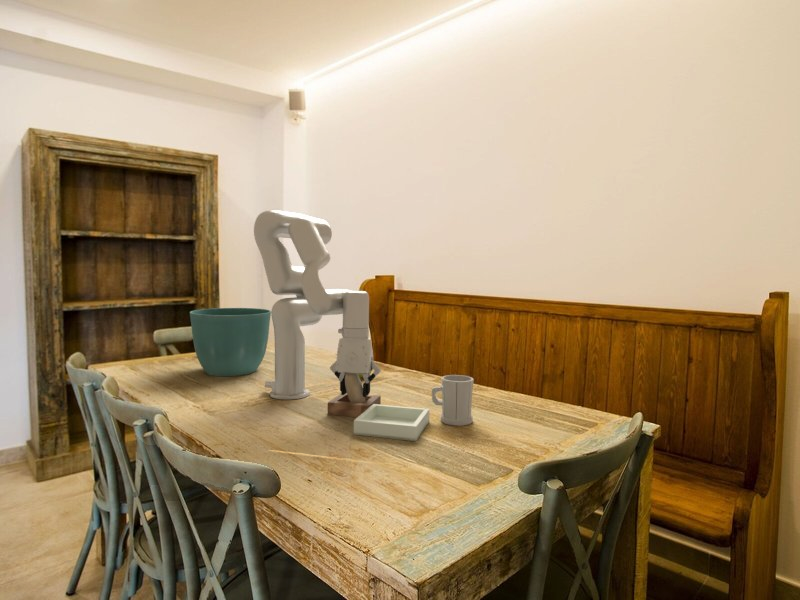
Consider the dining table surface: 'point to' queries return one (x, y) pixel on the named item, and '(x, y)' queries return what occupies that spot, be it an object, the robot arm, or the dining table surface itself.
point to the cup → (455, 399)
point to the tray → (392, 422)
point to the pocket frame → (351, 405)
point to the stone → (354, 388)
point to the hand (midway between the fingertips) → (355, 394)
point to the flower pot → (230, 339)
